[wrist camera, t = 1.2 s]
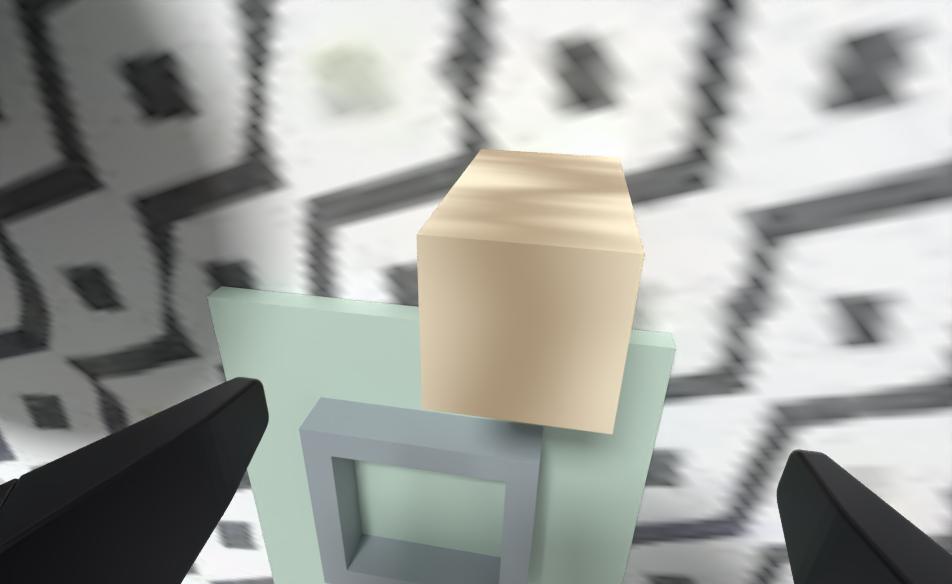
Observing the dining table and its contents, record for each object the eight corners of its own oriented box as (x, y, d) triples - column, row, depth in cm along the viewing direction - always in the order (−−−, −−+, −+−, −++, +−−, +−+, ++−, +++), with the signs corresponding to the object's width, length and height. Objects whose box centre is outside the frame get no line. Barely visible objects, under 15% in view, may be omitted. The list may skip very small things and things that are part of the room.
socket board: (672, 333, 20) (685, 382, 17) (606, 628, 28) (609, 692, 25) (221, 286, 22) (173, 322, 20) (283, 569, 31) (255, 621, 28)
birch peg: (619, 157, 17) (645, 253, 10) (601, 282, 19) (612, 434, 12) (481, 149, 18) (416, 234, 11) (478, 271, 20) (422, 408, 13)
